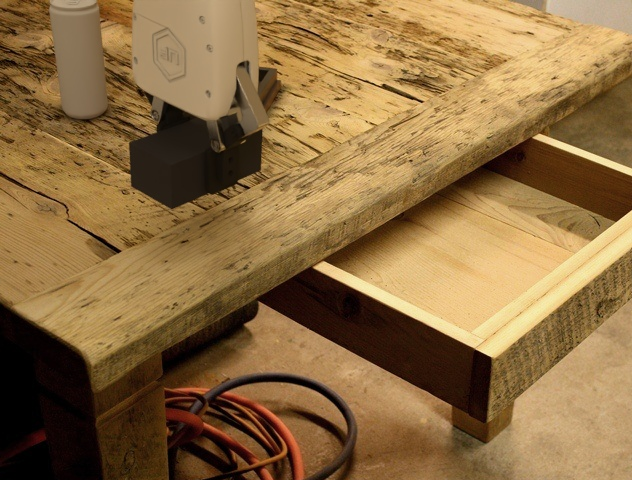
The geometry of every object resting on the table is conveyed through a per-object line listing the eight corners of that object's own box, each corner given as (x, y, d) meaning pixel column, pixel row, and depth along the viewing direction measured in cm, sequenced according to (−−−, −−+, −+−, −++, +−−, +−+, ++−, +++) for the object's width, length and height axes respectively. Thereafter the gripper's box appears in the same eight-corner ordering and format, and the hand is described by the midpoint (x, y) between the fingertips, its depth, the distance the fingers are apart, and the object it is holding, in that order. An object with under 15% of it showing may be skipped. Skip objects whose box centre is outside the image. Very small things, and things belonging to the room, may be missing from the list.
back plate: (250, 138, 96) (250, 116, 95) (168, 127, 97) (167, 105, 96) (281, 88, 107) (281, 67, 106) (207, 78, 108) (207, 58, 107)
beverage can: (112, 103, 101) (102, -7, 94) (103, 122, 97) (93, 9, 90) (67, 101, 101) (54, -9, 94) (57, 120, 97) (42, 7, 90)
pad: (171, 210, 73) (170, 164, 71) (130, 186, 75) (128, 142, 73) (261, 170, 80) (262, 128, 77) (220, 150, 82) (221, 108, 80)
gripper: (81, -66, 69) (96, 153, 79) (242, -5, 61) (237, 231, 71) (159, -79, 74) (164, 128, 84) (318, -25, 66) (303, 199, 76)
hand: (197, 173), depth 77 cm, fingers closed on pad, 5 cm apart
